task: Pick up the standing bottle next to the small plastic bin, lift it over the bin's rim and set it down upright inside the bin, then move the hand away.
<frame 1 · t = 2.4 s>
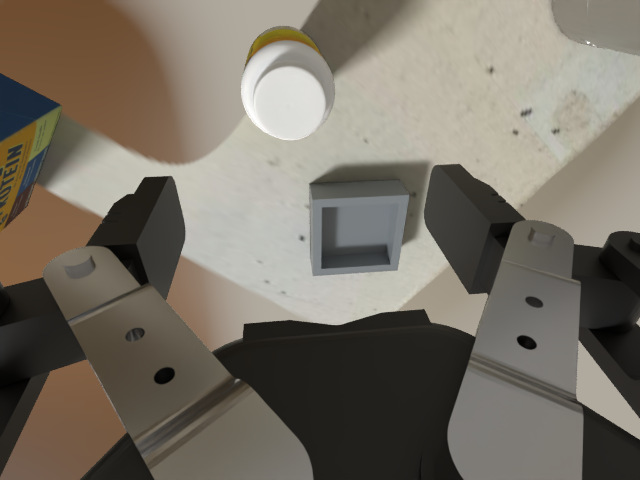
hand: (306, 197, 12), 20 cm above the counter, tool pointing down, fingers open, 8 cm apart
bin: (352, 220, 37), on the counter
supplement bottle: (284, 66, 29), on the counter
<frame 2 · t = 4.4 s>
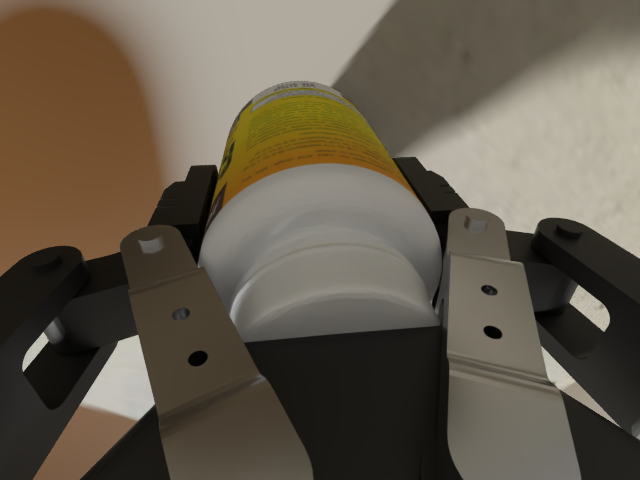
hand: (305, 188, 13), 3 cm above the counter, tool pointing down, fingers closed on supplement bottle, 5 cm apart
supplement bottle: (299, 150, 15), on the counter, touching gripper
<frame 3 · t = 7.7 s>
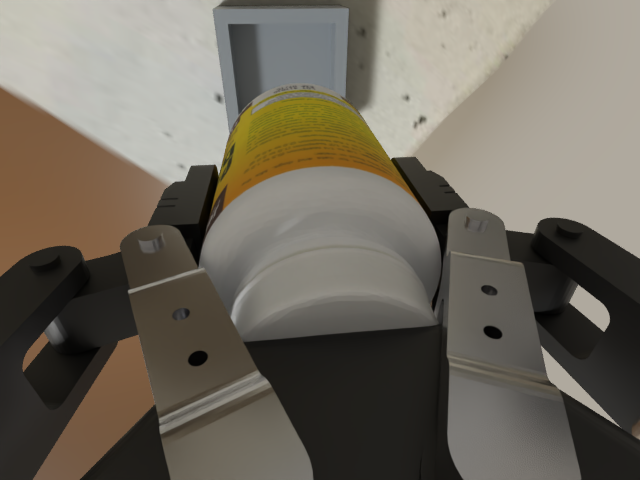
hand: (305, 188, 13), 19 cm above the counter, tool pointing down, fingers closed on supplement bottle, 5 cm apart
bin: (283, 71, 28), on the counter
supplement bottle: (299, 152, 15), point 16 cm above the counter, touching gripper
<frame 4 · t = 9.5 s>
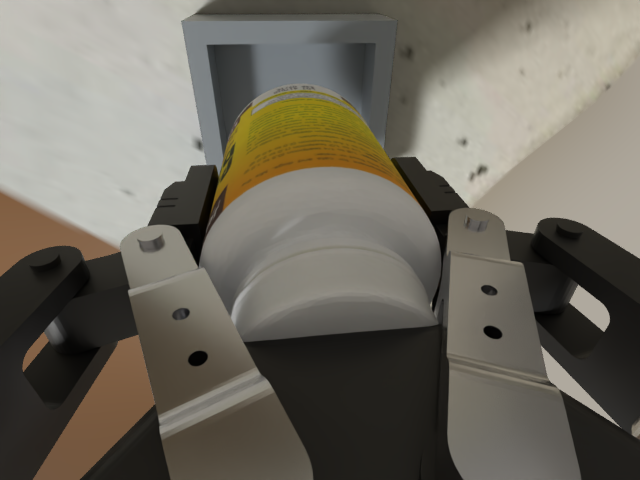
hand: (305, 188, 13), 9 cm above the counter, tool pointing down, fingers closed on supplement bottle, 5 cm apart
bin: (292, 108, 20), on the counter
supplement bottle: (299, 152, 15), point 6 cm above the counter, touching gripper
when the fingers open (5 cm above the counter, at t = 11.1 s): supplement bottle drops 1 cm, resting on bin.
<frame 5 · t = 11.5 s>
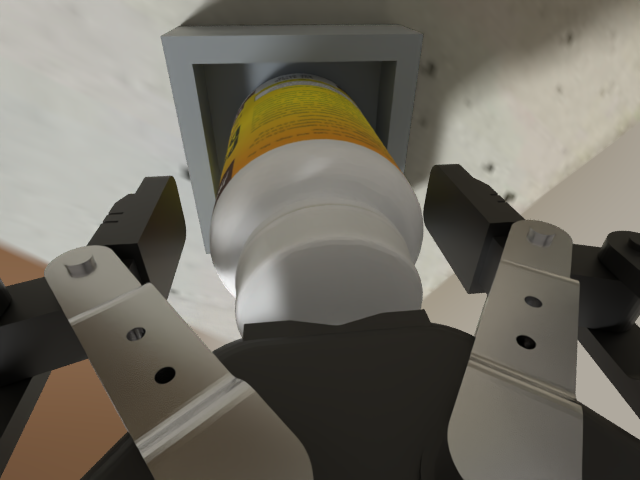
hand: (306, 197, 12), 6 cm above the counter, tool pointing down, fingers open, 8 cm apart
bin: (295, 132, 17), on the counter
supplement bottle: (298, 138, 16), point 1 cm above the counter, touching bin
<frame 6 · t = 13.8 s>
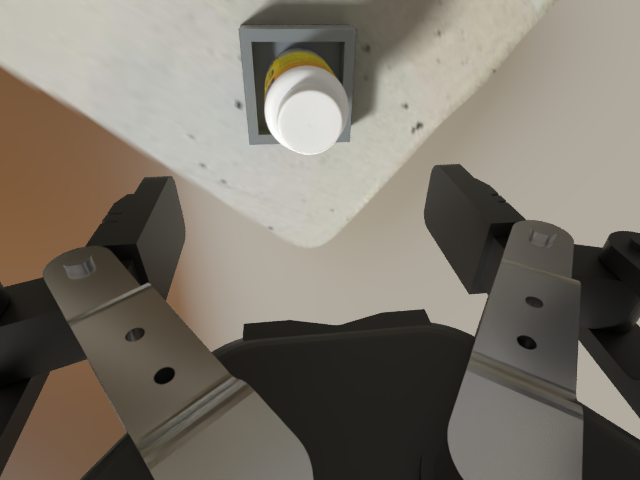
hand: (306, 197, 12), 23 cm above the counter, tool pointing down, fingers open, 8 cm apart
bin: (296, 82, 32), on the counter
supplement bottle: (298, 84, 31), point 1 cm above the counter, touching bin
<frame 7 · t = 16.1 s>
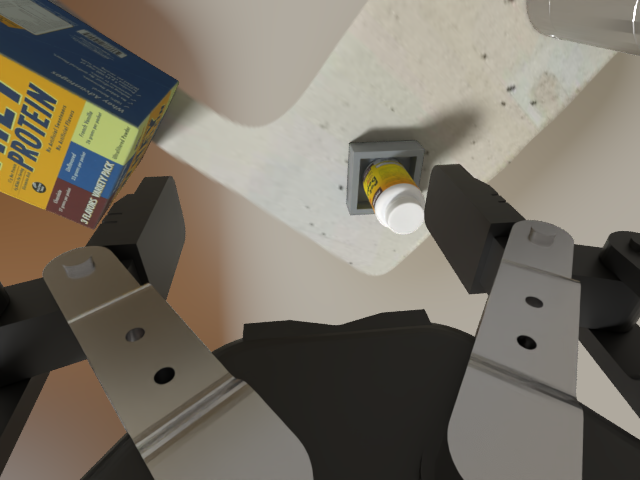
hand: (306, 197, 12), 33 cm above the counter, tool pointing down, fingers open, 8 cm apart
bin: (380, 173, 49), on the counter
supplement bottle: (382, 176, 48), point 1 cm above the counter, touching bin
protein box: (89, 80, 39), on the counter
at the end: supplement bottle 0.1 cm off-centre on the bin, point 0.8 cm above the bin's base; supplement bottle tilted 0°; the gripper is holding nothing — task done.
